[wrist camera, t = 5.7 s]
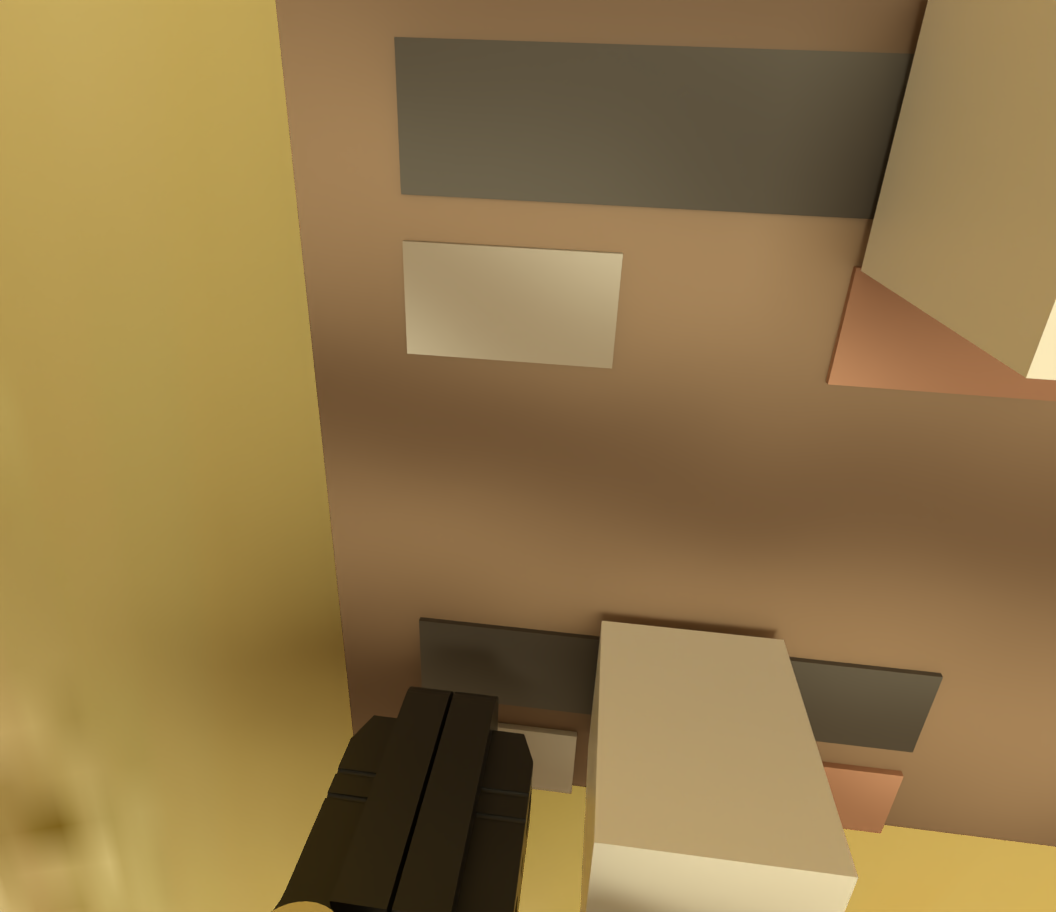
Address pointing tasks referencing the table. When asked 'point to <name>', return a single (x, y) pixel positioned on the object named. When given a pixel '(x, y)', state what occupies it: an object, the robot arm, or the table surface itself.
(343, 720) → the table surface
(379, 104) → the switch board
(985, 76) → the tab
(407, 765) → the robot arm
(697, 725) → the tab
